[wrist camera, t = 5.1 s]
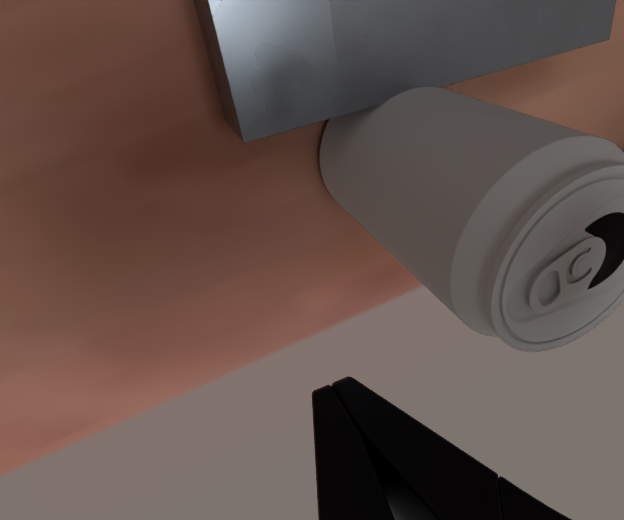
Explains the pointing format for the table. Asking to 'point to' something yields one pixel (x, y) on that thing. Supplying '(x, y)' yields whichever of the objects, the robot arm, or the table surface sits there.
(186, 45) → the table surface
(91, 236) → the table surface
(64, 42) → the table surface
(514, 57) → the jig plate
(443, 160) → the beverage can
